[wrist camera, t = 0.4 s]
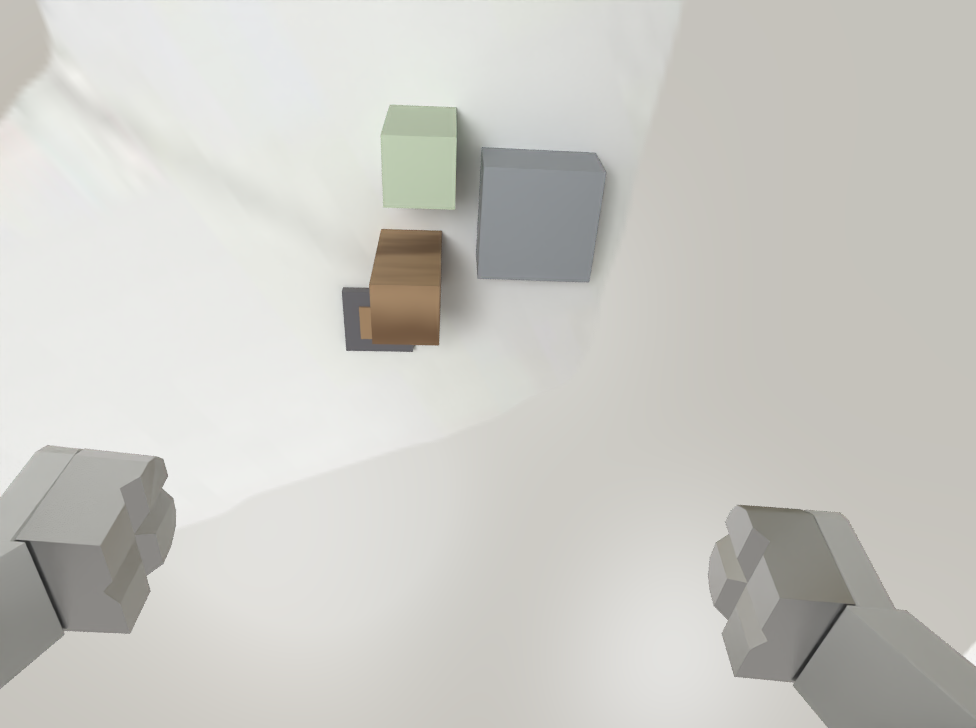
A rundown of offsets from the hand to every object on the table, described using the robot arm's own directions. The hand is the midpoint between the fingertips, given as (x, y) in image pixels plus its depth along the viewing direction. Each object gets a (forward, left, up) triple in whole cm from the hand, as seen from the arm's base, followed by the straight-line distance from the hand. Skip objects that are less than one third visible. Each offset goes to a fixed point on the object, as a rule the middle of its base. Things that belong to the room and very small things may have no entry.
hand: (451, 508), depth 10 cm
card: (+24, -6, -48) cm, 54 cm away
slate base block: (+13, +7, -48) cm, 50 cm away
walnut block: (+18, -3, -48) cm, 51 cm away
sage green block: (+8, -2, -48) cm, 48 cm away
